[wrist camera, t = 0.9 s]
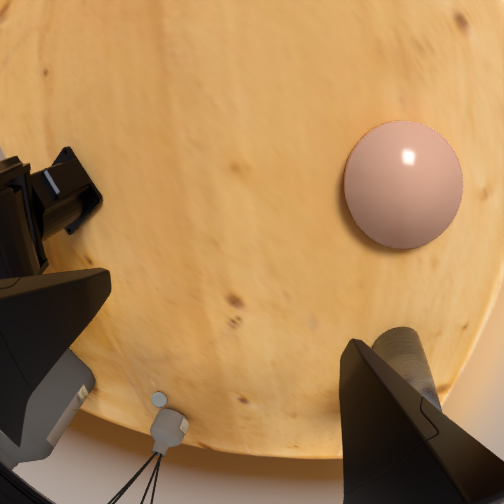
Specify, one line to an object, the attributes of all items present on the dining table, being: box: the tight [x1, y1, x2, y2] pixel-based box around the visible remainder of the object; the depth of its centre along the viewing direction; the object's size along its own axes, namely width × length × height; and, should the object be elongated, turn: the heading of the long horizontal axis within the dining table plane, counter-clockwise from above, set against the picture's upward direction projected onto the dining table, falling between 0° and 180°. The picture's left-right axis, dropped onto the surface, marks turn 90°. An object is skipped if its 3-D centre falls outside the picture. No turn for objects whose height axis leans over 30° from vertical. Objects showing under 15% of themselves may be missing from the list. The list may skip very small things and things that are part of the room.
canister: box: [372, 327, 442, 412], centre depth 19 cm, size 5×5×12 cm
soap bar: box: [343, 121, 463, 249], centre depth 17 cm, size 9×9×1 cm
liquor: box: [0, 348, 95, 470], centre depth 24 cm, size 9×9×30 cm
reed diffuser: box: [108, 392, 189, 504], centre depth 28 cm, size 10×7×20 cm
